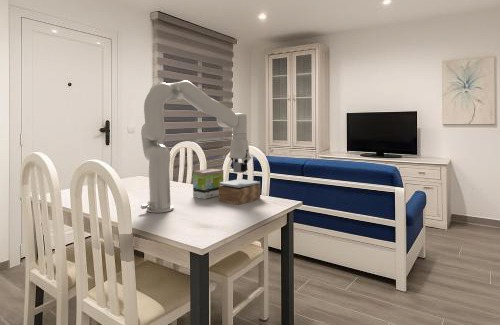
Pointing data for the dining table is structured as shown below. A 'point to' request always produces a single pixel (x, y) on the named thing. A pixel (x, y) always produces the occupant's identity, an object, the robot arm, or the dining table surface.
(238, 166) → the block
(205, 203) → the dining table surface
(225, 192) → the box
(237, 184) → the lid
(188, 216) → the dining table surface
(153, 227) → the dining table surface
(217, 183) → the tea box
